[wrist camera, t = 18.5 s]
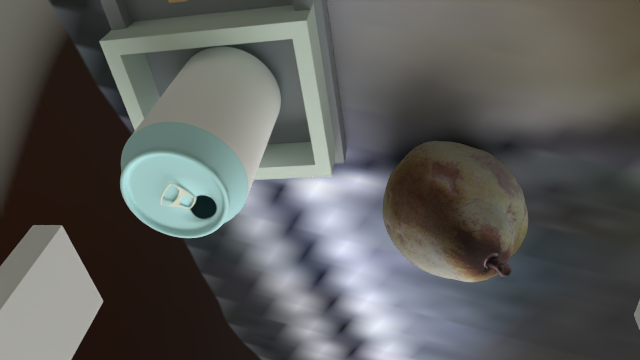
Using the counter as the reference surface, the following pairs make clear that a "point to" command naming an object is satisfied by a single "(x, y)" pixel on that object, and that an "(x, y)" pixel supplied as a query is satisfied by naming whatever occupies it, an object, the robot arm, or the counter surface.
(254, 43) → the grey tray
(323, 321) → the counter surface
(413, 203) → the fruit
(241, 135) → the can
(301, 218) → the counter surface
